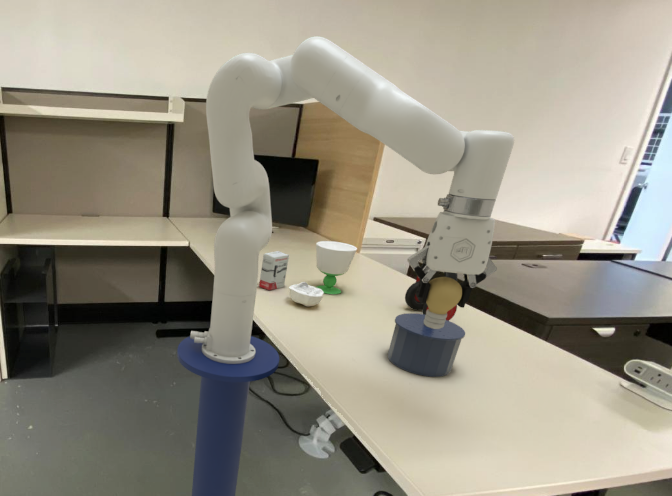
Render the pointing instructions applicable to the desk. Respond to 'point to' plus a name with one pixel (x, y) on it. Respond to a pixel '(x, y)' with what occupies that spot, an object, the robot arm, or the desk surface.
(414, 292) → the headphones
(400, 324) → the pot lid
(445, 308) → the light bulb
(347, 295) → the desk surface
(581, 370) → the desk surface
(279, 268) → the ink box
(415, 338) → the pot
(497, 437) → the desk surface
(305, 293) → the cell model
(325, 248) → the cup
